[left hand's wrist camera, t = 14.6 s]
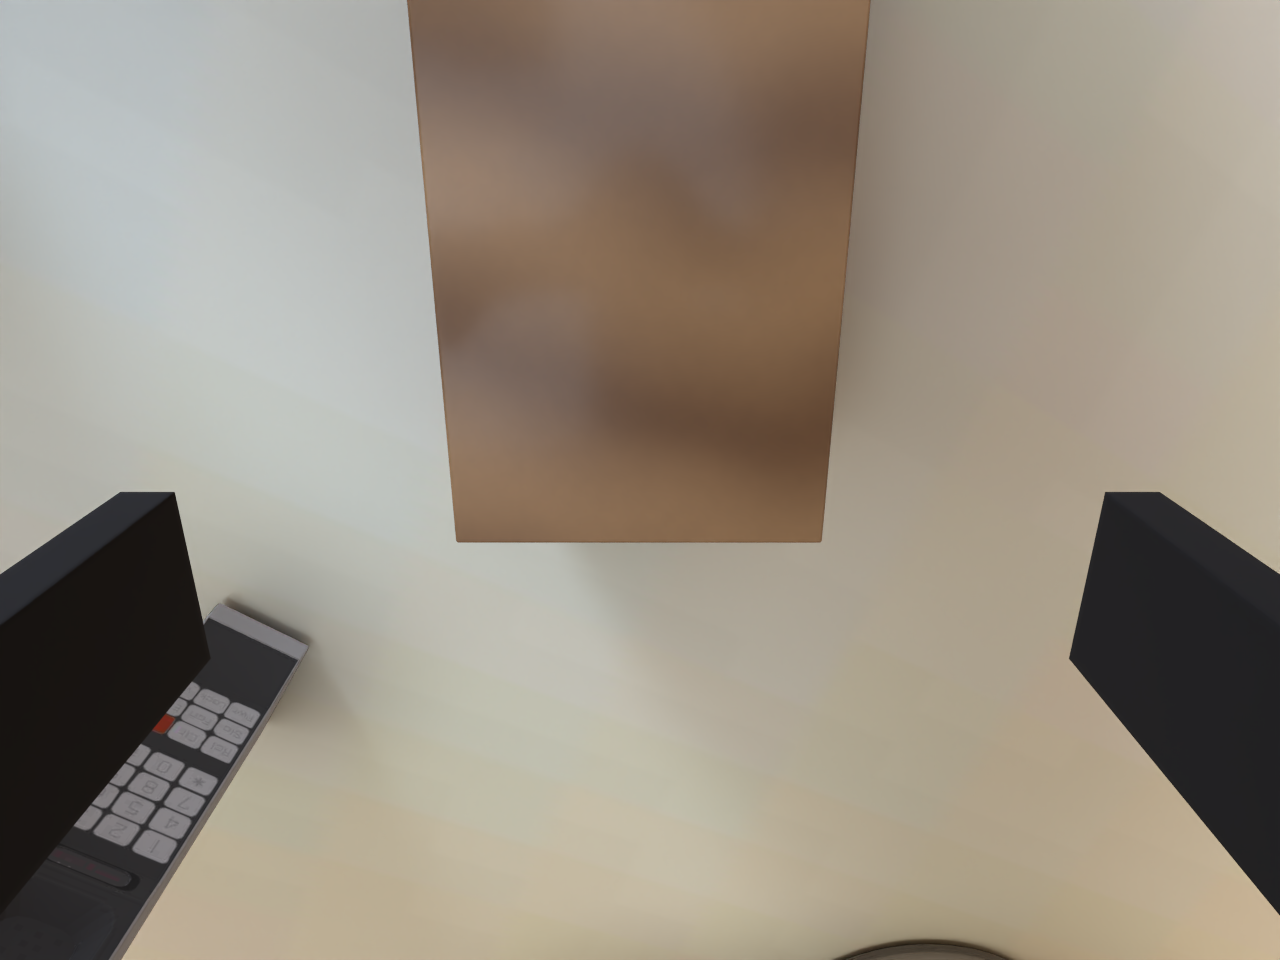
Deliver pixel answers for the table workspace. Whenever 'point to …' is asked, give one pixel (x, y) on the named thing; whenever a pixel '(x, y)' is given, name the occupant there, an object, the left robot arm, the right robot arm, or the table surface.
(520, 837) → the table surface
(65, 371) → the table surface
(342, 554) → the table surface
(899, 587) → the table surface
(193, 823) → the vintage mobile phone
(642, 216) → the wooden rectangular block
